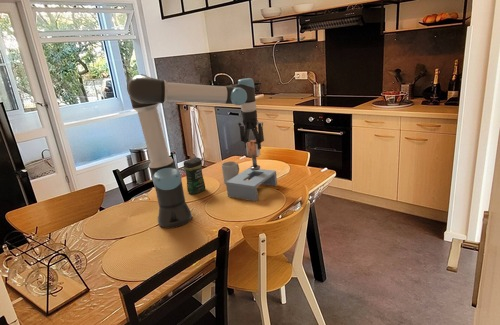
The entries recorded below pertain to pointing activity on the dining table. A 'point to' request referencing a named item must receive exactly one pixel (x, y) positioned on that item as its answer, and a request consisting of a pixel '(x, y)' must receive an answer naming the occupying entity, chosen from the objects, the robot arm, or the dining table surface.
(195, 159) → the coffee jar
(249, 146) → the peg
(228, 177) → the mug
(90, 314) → the dining table surface
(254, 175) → the platform
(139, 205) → the dining table surface
